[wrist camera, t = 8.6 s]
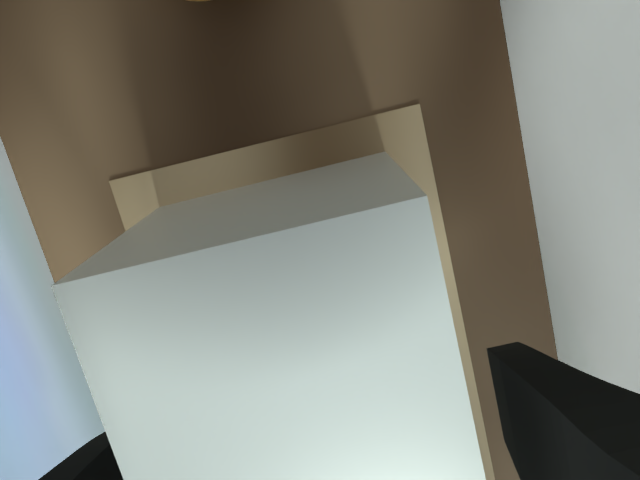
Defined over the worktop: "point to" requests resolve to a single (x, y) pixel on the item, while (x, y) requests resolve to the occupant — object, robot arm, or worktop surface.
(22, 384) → the worktop surface
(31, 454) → the worktop surface
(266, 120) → the walnut board
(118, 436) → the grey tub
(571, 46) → the worktop surface
